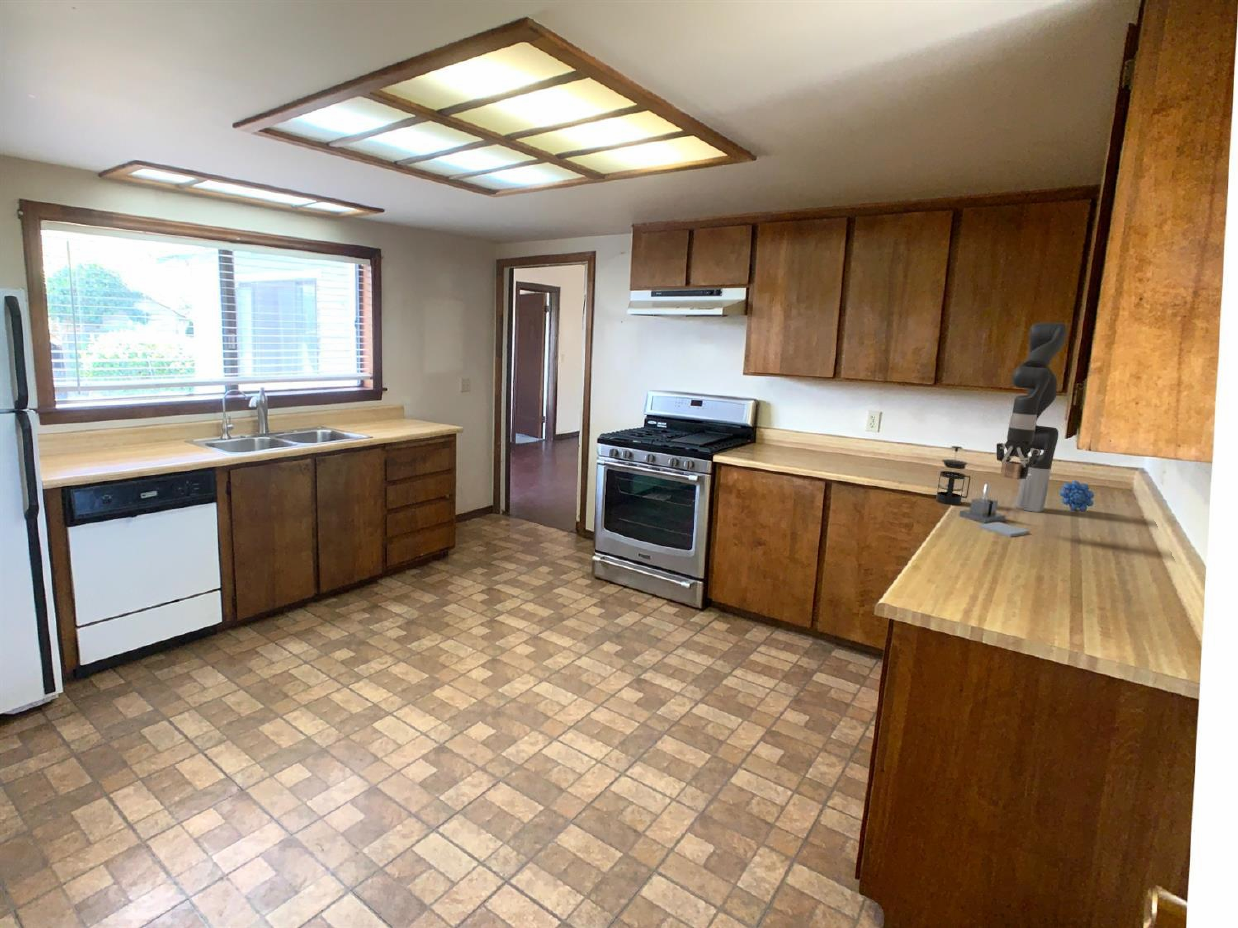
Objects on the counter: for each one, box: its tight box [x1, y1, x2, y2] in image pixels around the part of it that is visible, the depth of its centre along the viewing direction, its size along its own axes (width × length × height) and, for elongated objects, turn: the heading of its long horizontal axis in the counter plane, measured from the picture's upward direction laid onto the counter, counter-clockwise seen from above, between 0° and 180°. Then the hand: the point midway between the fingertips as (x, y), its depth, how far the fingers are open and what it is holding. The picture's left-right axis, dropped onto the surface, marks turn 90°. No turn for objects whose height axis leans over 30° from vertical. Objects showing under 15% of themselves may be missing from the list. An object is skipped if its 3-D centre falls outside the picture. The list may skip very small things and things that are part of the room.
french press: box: [934, 445, 971, 506], centre depth 256 cm, size 12×9×23 cm
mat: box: [978, 521, 1030, 538], centre depth 222 cm, size 11×11×1 cm
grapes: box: [1059, 480, 1095, 512], centre depth 254 cm, size 12×7×12 cm, turn 61°
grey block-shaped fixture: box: [958, 483, 1007, 524], centre depth 235 cm, size 12×10×13 cm
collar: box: [1000, 460, 1026, 481], centre depth 217 cm, size 6×6×5 cm
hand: (1013, 475), depth 218 cm, fingers closed on collar, 5 cm apart
